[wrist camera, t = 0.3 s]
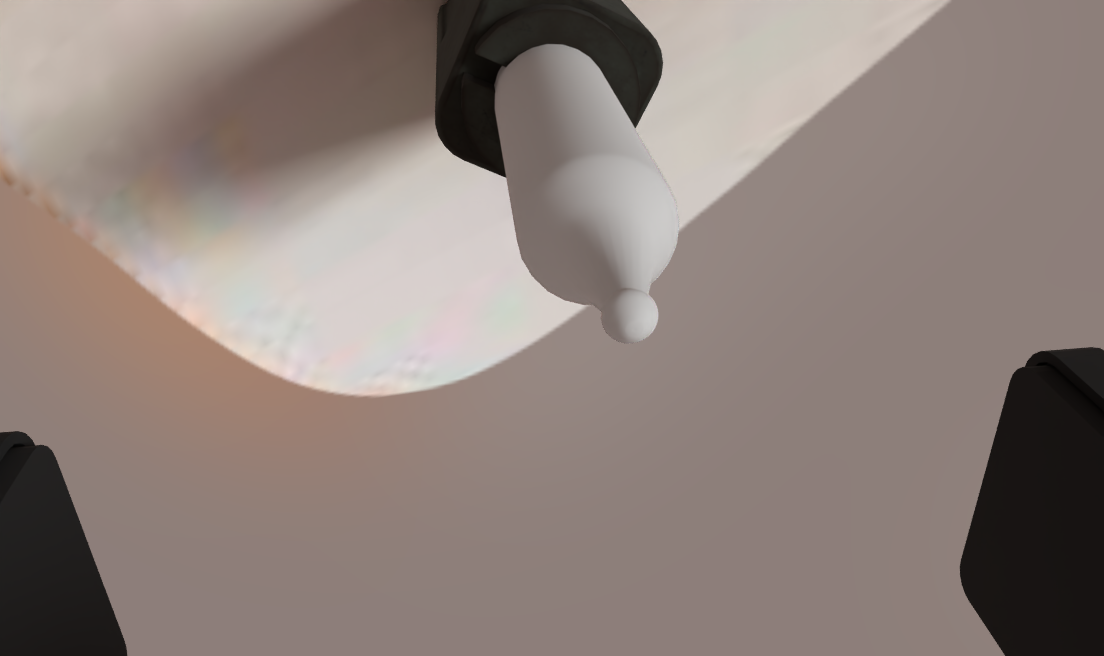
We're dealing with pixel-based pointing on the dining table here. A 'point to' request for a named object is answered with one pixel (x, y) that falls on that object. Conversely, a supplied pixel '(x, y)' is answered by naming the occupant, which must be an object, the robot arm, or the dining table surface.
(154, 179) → the dining table surface
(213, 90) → the dining table surface
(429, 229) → the dining table surface
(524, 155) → the black handled stick
